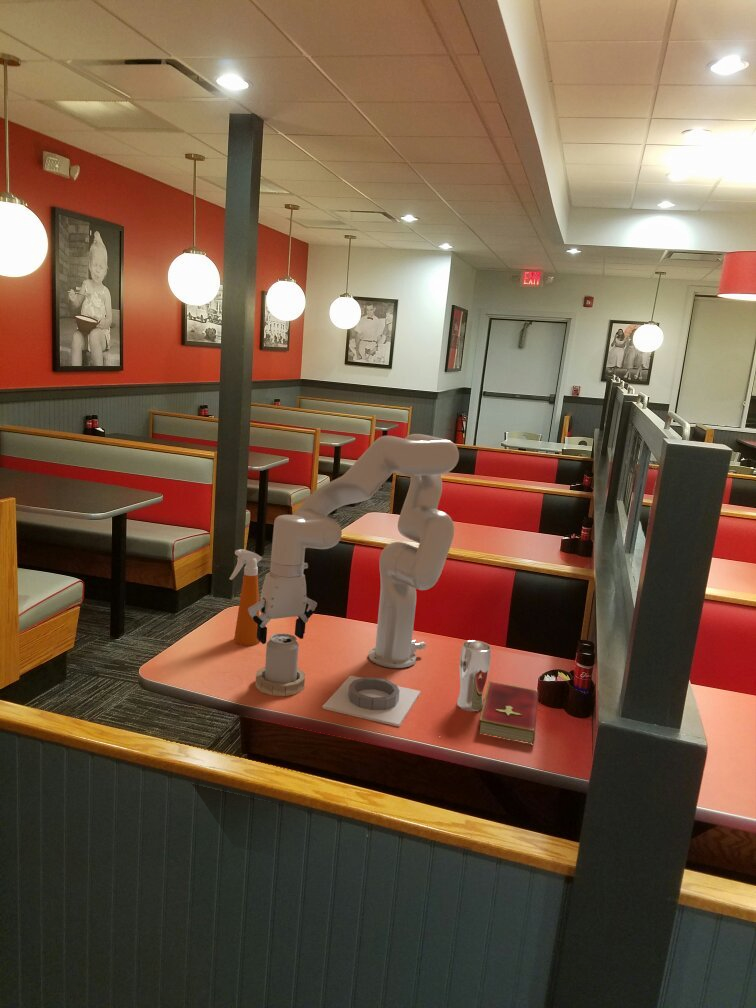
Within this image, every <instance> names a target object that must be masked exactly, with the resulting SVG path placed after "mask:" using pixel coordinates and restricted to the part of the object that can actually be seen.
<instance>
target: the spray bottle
mask: <svg viewBox="0 0 756 1008" xmlns="http://www.w3.org/2000/svg"><path fill="white" fill-rule="evenodd" d="M234 554H235V555H236V556H237V558H236V559H237V563H236V565H235V567H234V570H233V572H232V573H231V575H230V577H229V580H231V581H233V579H235V577H237V575H238V574H239V572H240V571H241V569H242V568H243V567H244V571H243V578H242V585H241V593H240V598H239V603H238V612H237V619H236V623H235V624H236V625H235V631H234V638H233V639H234V640H233V641H234V643H236V644H238V645H240V644H241V645H240V646H254V644H255V645H257V644H259V643H261V642H260V641H259V640H258V639H257V625H258V624H256V622H255V621H254V620H253V619H252V618H251V616H250V614H249V611H248V608H249V607H251V606H252V605H254V604H256V603H257V602H259V601H260V599H259V598H260V596H259V595H260V594H259V575H258V574H259V573H258V572H259V568H258V563H259V562H260V561H262V559H263V557H262V556H261V555H259V554H258V553H256V552H254V551H250V550H247V549H242V548H239V549H236V550H235V551H234ZM244 565H245V566H244ZM260 615H261V613H260V610H258V611H257V616H258V617H259V616H260Z"/></svg>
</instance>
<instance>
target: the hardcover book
mask: <svg viewBox="0 0 756 1008" xmlns="http://www.w3.org/2000/svg"><path fill="white" fill-rule="evenodd" d="M538 701H539V691H538V689H533V688H528V687H522V686H517V685H512V684H507V683H502V682H497V681H491V680H488V683H487V688H486V691H485V695H484V699H483V707H482V710H480V711H481V712H480V714H479V719H478V722H480V728H479V734H480V733H481V734H487V735H491V736H497V737H501V738H505V739H510V740H518V741H523V742H528V743H532V744H533V745H534V744H535V739H536V738H535V737H536V726H537V714H538V713H537V711H538ZM505 739H504V740H505ZM510 740H509V741H510Z"/></svg>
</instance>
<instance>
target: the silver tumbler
mask: <svg viewBox="0 0 756 1008" xmlns="http://www.w3.org/2000/svg"><path fill="white" fill-rule="evenodd" d="M460 651H461V652H460V658H459V683H460V686H459V687H460V688H459V695H458V696H457V697H458V698H457V700H456V706H457V707H458V708H459V707H460V708H459V709H461V710H463V709H464V710H463V711H465V710H467V711H466V712H470V711H477V712H480V711H482V710H481V709H482V707H483V703H484V699H483V698H484V697H483V694H484V689H485V685H486V683H487V679H488V676H489V672H490V668H491V659H492V655H491V654H492V647H491V645H490V644H489V643H487V642H484V641H481V640H475V639H474V640H473V639H472V640H470V639H469V640H465V641H464V642H463V643H462V647H461V650H460ZM479 710H480V711H479Z"/></svg>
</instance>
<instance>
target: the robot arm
mask: <svg viewBox="0 0 756 1008" xmlns="http://www.w3.org/2000/svg"><path fill="white" fill-rule="evenodd" d="M459 459H460V451H459V448H458V446H457V445H456V444H455V443H454V442H453V441H451V440H449V439H446V438H442V437H437V436H433V435H427V434H422V433H411V434H409V435H406V437H404V438H402V437H398V436H394V435H382V436H380V437H378V438H377V439H376V440H374V441H373V442H372V443H371V445H370V446H369V447H368V448H367V449H365V451H364V452H363V453H362V454H361V456H360V457H358V459H357V460H356V461H355V462H354V463H353V464H352V465H351V466H350V467H349V469H348V470H346V472H345V473H343V475H341V476H340V477H337V478H336V479H333V480H332V481H329V482H328V483H325V485H323V486H321V487H319V488H318V489H316V490H315V491H313V492H312V493H311V494H310V495H308V497H307V498H306V499H305V500H304V501H303V502H302V503H301V504H300V505H299V506H298V507H297V509H296V510H295V511H294V513H293V514H281V515H277V517H275V519H274V522H273V523H274V524H273V532H272V545H271V553H270V554H271V557H270V567H269V569H270V570H269V572H267V573H266V574H265V576H264V581H263V584H262V587H261V588H262V589H261V594H260V599H259V602H257V603H256V604H254V605H252V606H251V607H249V608H248V611H249V614H250V616H251V618H252V619H253V620H254V621H255V622H256V624H258V625H257V639H258V640H259V641H260V642H259V643H261V644H262V645H265V644H267V635H268V627H267V624H268V623H269V622H271V621H270V620H276V619H286V618H294V617H297V618H296V620H295V625H294V626H295V627H294V636H295V637H296V638H299V639H300V640H302V639H304V635H305V633H306V623H307V622H308V621H309V619H310V618H311V617H312V616H313V614H314V611H315V610H316V608H317V606H318V602H316V601H315V600H313V599H310V598H309V597H308V596H307V581H306V575H305V574H304V570H305V569H308V568H309V564H308V562H305V553H306V549H318V550H327V549H328V550H329V549H331V548H333V547H335V546H337V545H338V544H339V542H340V541H341V539H342V535H343V532H342V527H341V526H340V524H339V523H338V522H337V521H336V520H335V519H333V518H332V517H329V516H328V515H330V513H332V512H334V511H335V510H337V509H339V508H342V507H343V506H347V505H351V504H352V505H353V504H359V503H361V502H365V501H368V500H370V499H371V498H372V497H373V496H375V495H374V494H376V493H377V491H378V490H379V489H380V488H381V487H382V486H383V485H384V483H386V481H387V480H388V479H389V478H390V477H391V475H392V474H393V473H394V474H397V475H398V474H399V475H402V476H408V477H410V480H409V481H410V483H409V488H408V491H407V494H406V497H405V500H404V502H403V505H402V508H401V511H400V514H399V517H398V520H397V530H398V532H399V534H400V535H401V536H403V537H404V538H406V539H409V540H410V541H412V542H416V543H418V547H416V546H413V545H411V544H407V543H405V542H403V541H402V542H400V541H395V542H391V543H389V544H387V545H386V546H384V548H383V549H382V551H381V553H380V555H379V561H378V563H379V567H378V569H379V576H380V577H379V578H380V593H379V603H378V615H377V627H376V635H375V636H376V638H375V647H373V648H371V649H370V651H369V652H368V658H369V660H370V661H371V662H372V663H373V664H376V665H378V666H380V667H384V668H390V669H404V668H407V667H409V668H410V667H411V666H413V665H415V663H416V662H417V655H416V654H415V652H417V651H419V650H425V649H426V648H427V645H426V642H425V641H419V642H417V641H416V639H413V635H414V624H415V615H416V606H417V590H419V591H427V590H429V589H432V588H433V587H434V586H435V585H436V584H437V582H438V581H439V578H440V577H441V574H442V571H443V569H444V566H445V562H447V561H446V560H447V557H448V554H449V551H450V548H451V545H452V543H453V540H454V535H455V525H454V521H453V519H452V517H451V516H450V515H449V514H447V513H446V512H445V511H442V510H439V509H438V507H439V503H440V500H441V498H442V497H441V496H442V493H443V480H442V475H444V474H447V473H449V472H451V471H452V470H453V469H454V468H455V467H457V464H458V462H459ZM307 605H308V606H307ZM258 610H259V613H260V616H259V617H258V616H257V611H258Z"/></svg>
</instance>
